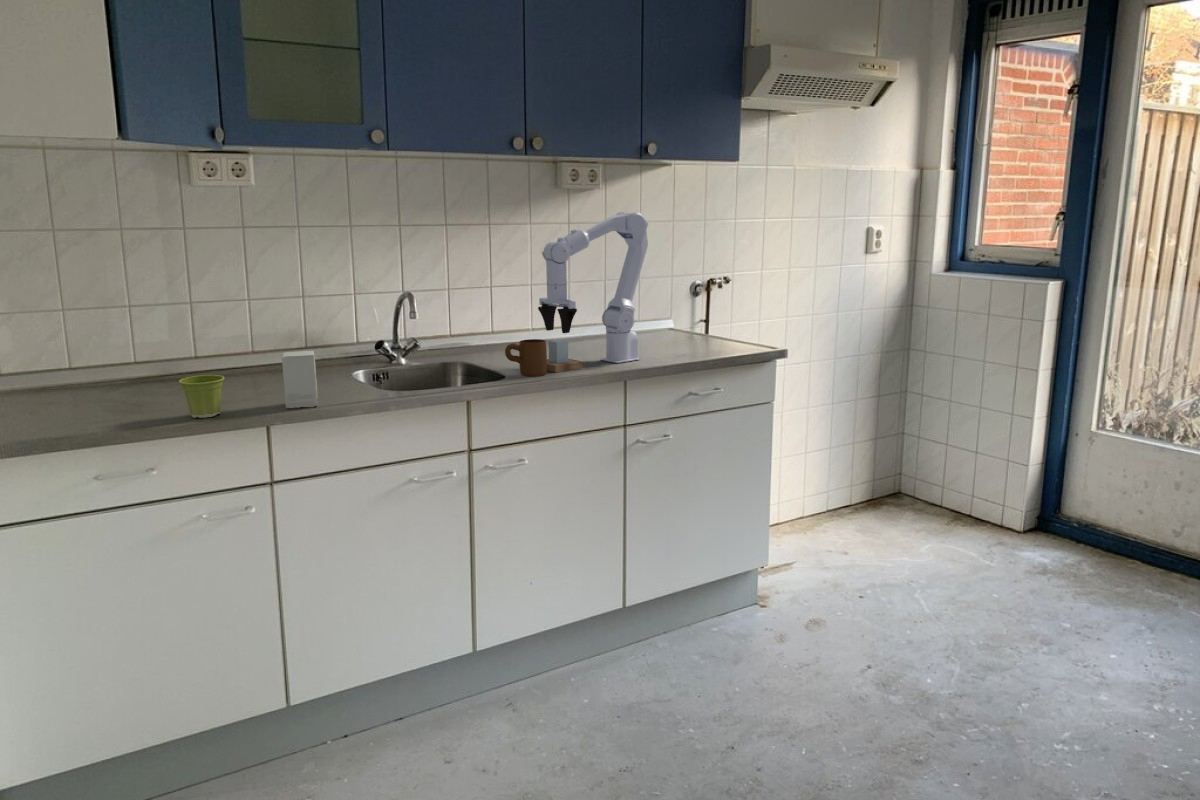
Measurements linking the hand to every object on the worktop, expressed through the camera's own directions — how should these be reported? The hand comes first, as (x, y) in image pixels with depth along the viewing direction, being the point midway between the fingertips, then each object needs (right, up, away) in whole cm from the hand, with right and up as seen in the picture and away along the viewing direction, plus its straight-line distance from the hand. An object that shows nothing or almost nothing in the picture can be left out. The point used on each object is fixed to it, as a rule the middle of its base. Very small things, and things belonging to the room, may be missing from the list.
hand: (557, 331), depth 259 cm
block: (0, -9, -1) cm, 9 cm away
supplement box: (-59, -21, -45) cm, 77 cm away
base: (0, -11, 0) cm, 11 cm away
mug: (-8, -13, -10) cm, 18 cm away
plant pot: (-78, -24, -55) cm, 98 cm away
